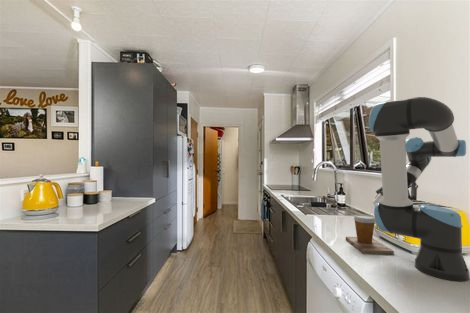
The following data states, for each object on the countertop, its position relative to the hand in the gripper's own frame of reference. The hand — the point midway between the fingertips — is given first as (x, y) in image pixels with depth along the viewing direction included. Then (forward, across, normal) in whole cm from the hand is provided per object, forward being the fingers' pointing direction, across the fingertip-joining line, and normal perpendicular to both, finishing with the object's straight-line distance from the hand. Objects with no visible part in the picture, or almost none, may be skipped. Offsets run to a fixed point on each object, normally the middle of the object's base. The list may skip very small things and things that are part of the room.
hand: (385, 206), depth 117 cm
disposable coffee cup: (+19, +3, -5) cm, 20 cm away
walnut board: (+21, 0, -5) cm, 21 cm away
